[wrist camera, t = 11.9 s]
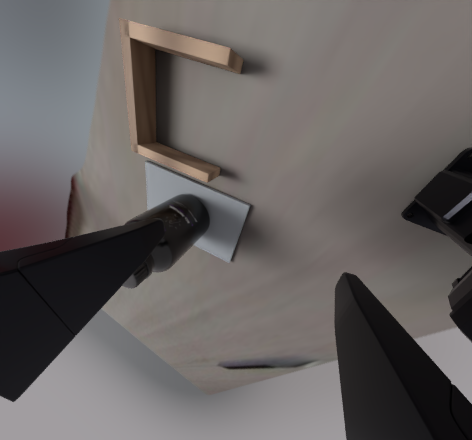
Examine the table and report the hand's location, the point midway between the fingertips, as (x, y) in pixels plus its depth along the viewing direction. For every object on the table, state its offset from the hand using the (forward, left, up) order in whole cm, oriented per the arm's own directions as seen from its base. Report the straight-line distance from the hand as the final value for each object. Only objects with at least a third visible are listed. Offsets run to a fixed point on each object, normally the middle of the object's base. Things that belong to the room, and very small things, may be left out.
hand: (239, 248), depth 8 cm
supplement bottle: (+10, +10, -13) cm, 19 cm away
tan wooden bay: (+12, -3, -13) cm, 18 cm away
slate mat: (+10, +10, -13) cm, 19 cm away
